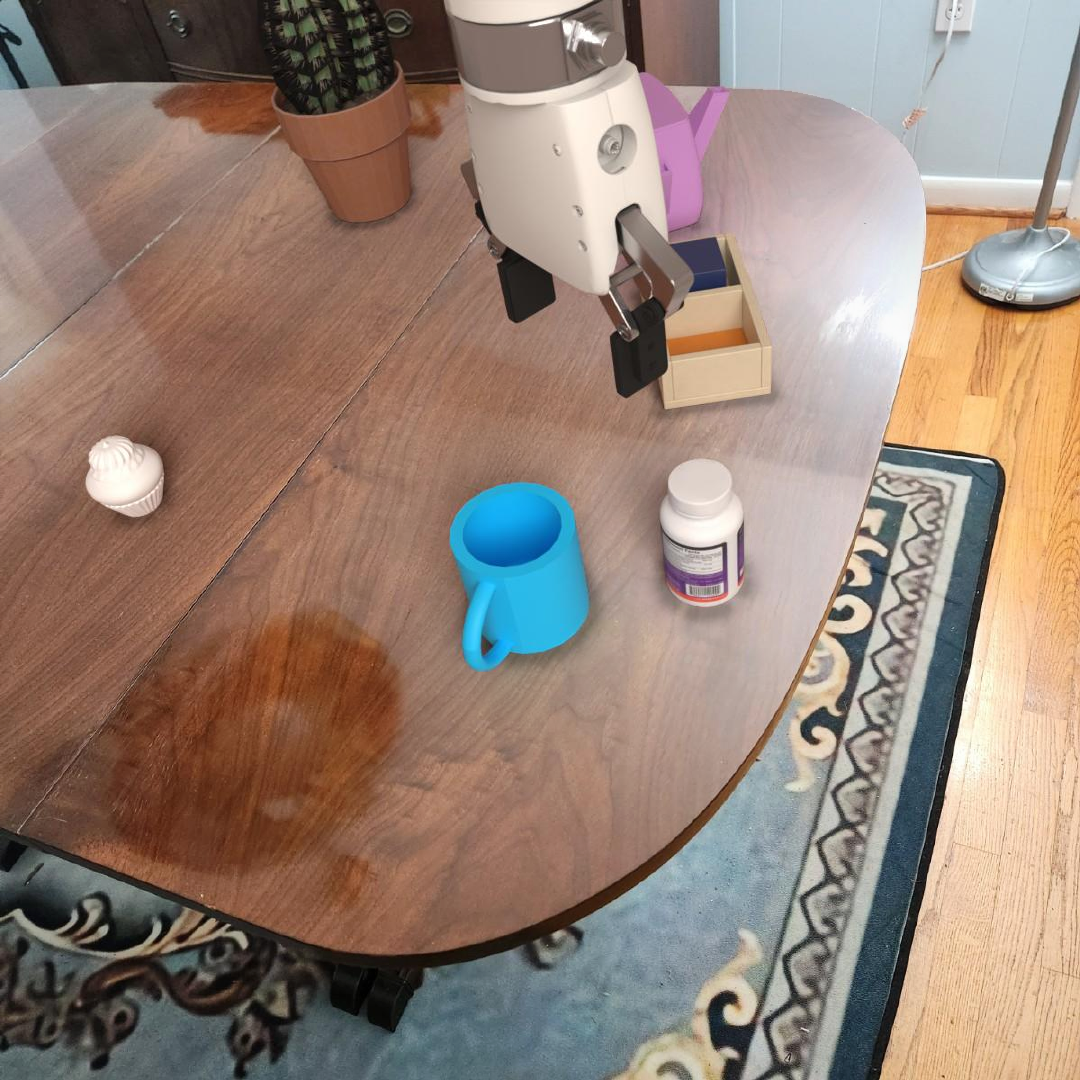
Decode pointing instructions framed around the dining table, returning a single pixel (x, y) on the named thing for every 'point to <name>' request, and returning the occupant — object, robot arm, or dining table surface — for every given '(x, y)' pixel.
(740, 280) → the sorter
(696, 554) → the pill bottle
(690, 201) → the teakettle
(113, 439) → the muffin
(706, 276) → the navy block
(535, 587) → the mug
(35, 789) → the dining table surface
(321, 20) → the potted plant
